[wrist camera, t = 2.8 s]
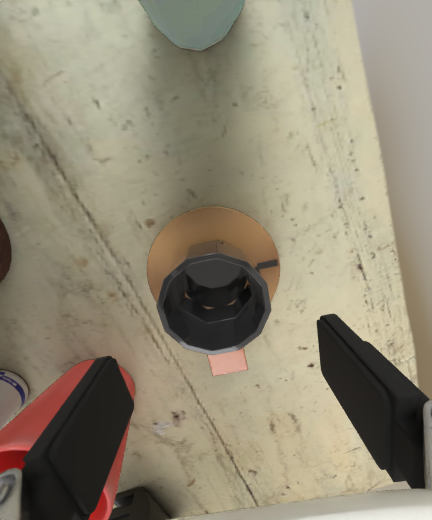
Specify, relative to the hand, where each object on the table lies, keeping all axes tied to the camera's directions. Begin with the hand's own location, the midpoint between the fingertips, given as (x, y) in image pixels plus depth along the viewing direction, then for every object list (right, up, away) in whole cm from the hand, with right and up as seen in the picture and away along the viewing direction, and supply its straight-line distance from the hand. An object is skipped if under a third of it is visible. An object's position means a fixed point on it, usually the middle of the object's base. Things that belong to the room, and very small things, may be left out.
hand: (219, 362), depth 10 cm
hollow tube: (0, +3, +9) cm, 10 cm away
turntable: (0, +4, +11) cm, 11 cm away
